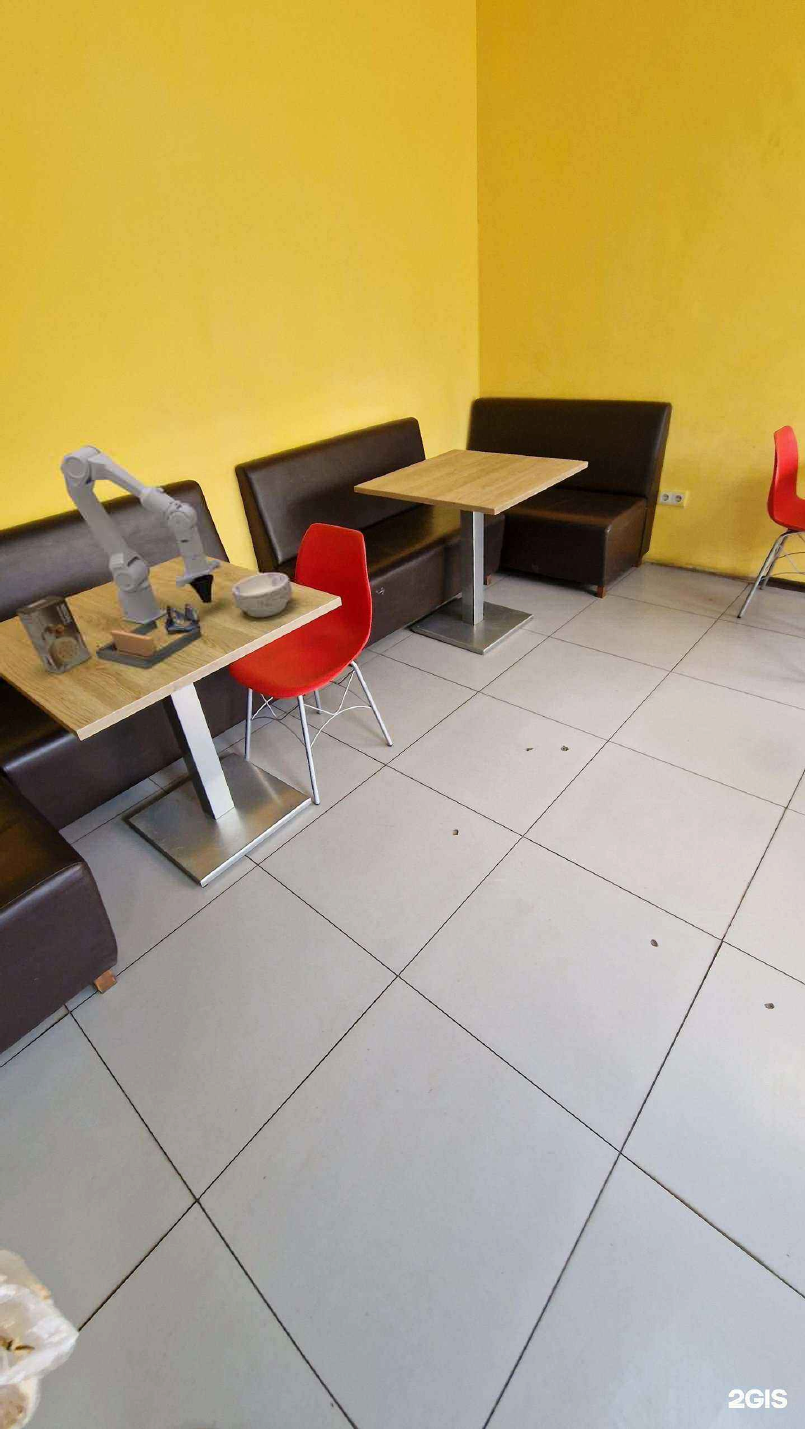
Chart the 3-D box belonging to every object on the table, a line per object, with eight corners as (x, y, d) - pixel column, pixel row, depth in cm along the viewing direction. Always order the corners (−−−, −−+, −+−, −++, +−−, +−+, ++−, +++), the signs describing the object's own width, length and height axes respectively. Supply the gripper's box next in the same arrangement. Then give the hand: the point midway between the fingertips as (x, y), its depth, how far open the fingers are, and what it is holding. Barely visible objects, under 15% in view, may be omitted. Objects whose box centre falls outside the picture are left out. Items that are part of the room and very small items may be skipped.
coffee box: (77, 653, 159) (50, 594, 150) (92, 657, 156) (66, 597, 147) (44, 670, 153) (14, 609, 144) (59, 675, 150) (30, 613, 141)
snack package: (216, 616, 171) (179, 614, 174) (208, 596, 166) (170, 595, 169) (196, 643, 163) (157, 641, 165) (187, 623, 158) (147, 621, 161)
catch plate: (117, 649, 158) (110, 631, 155) (121, 647, 159) (114, 629, 156) (155, 658, 151) (148, 639, 149) (159, 656, 152) (152, 637, 149)
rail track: (98, 657, 156) (95, 650, 155) (153, 626, 168) (151, 619, 167) (147, 669, 147) (144, 662, 146) (202, 635, 160) (199, 628, 159)
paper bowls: (227, 615, 170) (219, 587, 165) (270, 594, 179) (264, 568, 174) (262, 627, 161) (255, 598, 156) (306, 605, 170) (300, 577, 165)
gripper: (183, 565, 157) (198, 614, 164) (223, 545, 167) (236, 593, 174) (163, 562, 160) (179, 611, 167) (204, 543, 170) (217, 590, 178)
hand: (207, 602), depth 171 cm, fingers closed
